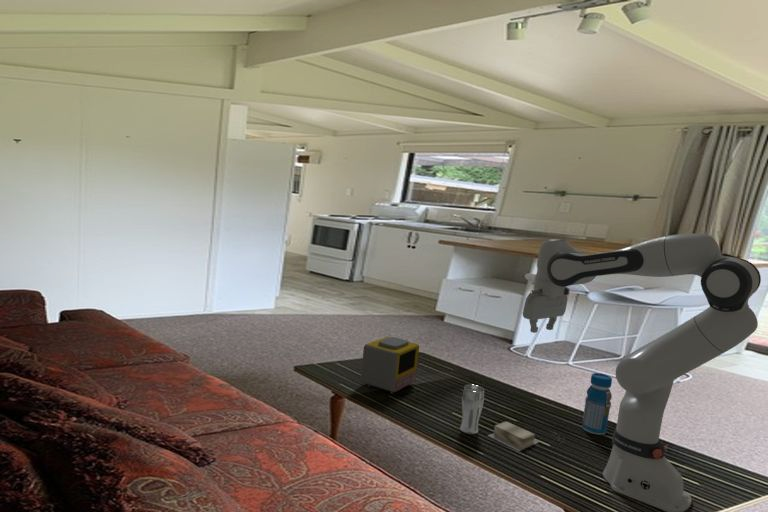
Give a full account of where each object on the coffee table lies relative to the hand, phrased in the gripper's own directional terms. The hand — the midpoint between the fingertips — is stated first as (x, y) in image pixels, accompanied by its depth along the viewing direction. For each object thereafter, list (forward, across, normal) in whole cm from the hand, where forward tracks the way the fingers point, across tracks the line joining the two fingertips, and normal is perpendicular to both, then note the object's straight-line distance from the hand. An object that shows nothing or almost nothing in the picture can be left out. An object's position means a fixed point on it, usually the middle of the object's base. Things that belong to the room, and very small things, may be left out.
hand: (541, 330), depth 165 cm
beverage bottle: (+37, +29, -9) cm, 48 cm away
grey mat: (+37, -5, +2) cm, 37 cm away
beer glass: (+37, -13, +14) cm, 42 cm away
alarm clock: (+38, -9, +58) cm, 69 cm away
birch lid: (+36, -5, +2) cm, 36 cm away
